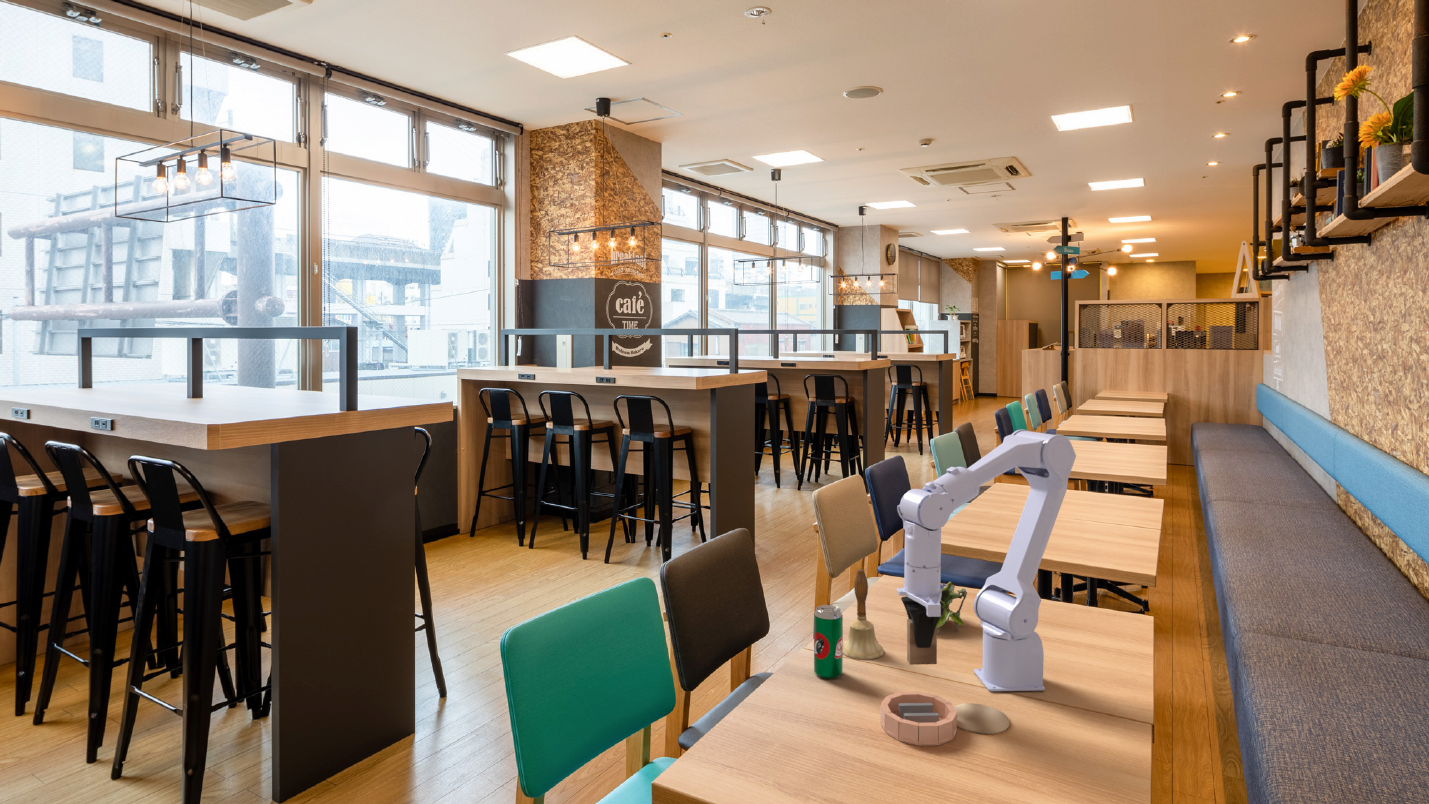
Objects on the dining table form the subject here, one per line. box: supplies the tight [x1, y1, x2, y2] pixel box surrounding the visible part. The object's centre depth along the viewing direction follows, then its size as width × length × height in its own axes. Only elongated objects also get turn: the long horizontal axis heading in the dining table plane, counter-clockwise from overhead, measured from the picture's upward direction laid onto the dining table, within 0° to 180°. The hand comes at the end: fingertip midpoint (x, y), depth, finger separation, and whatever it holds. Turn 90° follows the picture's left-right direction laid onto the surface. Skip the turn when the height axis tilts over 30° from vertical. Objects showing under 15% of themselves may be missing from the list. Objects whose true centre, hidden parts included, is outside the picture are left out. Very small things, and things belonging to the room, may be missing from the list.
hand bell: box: [843, 568, 885, 661], centre depth 146 cm, size 8×8×16 cm
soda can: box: [813, 604, 844, 680], centre depth 136 cm, size 5×5×12 cm
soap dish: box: [880, 691, 958, 747], centre depth 118 cm, size 11×11×3 cm
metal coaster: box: [953, 702, 1010, 735], centre depth 120 cm, size 9×9×1 cm
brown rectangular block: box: [906, 618, 938, 666], centre depth 126 cm, size 4×2×7 cm, turn 90°
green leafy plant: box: [937, 581, 968, 632], centre depth 158 cm, size 11×11×12 cm
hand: (921, 644), depth 126 cm, fingers closed on brown rectangular block, 2 cm apart
